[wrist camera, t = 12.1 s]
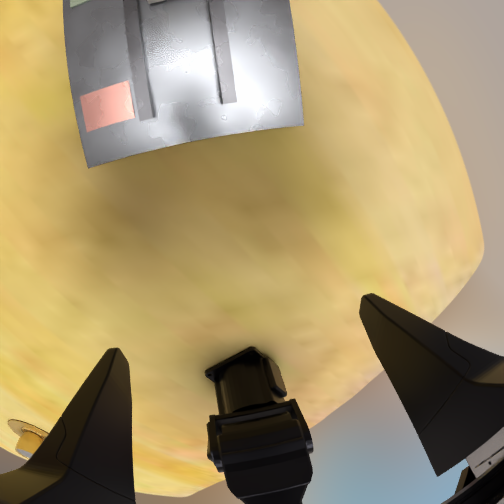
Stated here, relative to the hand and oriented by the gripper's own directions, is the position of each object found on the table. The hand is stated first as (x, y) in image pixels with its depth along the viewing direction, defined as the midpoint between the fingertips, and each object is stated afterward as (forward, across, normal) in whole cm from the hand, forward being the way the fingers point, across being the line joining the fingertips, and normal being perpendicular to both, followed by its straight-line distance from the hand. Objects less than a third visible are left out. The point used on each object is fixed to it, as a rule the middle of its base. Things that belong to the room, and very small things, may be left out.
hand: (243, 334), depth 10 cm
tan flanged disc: (+13, +45, +36) cm, 59 cm away
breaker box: (+13, +1, -13) cm, 18 cm away
